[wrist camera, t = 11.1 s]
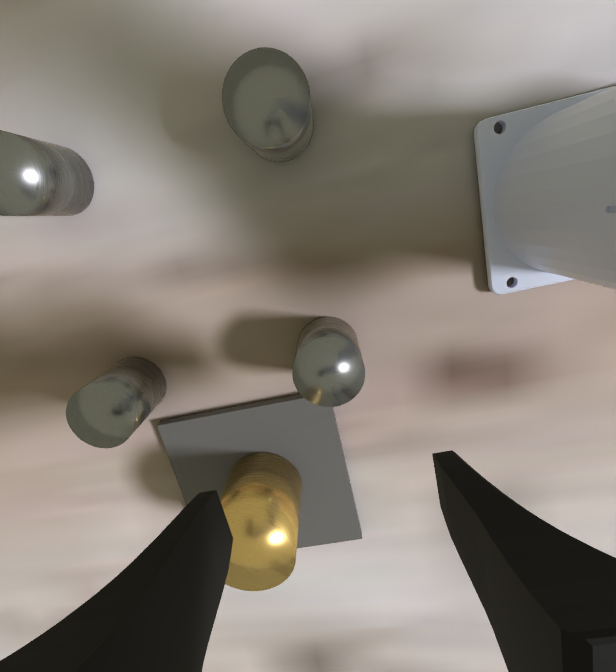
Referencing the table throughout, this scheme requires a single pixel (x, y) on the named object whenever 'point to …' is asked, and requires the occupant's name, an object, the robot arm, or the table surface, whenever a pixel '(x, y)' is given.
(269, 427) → the mat
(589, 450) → the table surface
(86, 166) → the spacer posts
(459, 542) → the robot arm
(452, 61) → the table surface
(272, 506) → the brass round stock
